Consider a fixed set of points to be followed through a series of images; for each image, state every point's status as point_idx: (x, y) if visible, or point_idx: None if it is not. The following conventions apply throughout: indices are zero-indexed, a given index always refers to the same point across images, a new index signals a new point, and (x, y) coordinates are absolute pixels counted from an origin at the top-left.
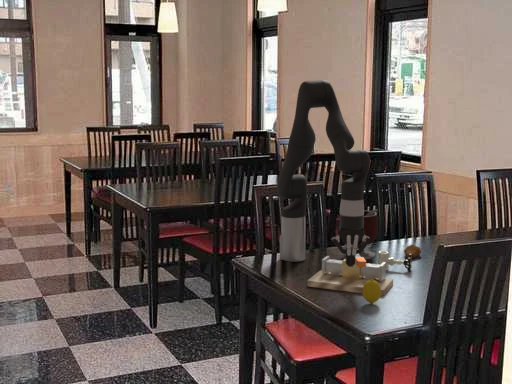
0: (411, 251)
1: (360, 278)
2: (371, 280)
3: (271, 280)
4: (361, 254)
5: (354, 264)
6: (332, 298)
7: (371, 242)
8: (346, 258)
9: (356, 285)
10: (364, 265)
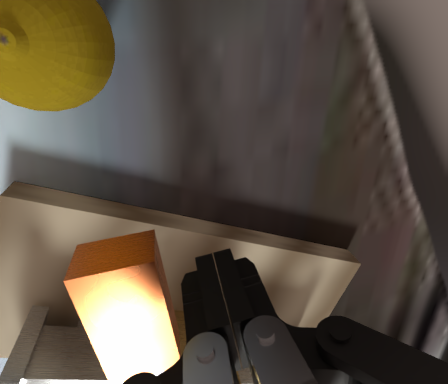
0: None
1: None
2: (8, 23)
3: (443, 280)
4: None
5: (185, 275)
6: (271, 119)
7: None
8: (268, 298)
9: (160, 242)
10: (90, 250)
